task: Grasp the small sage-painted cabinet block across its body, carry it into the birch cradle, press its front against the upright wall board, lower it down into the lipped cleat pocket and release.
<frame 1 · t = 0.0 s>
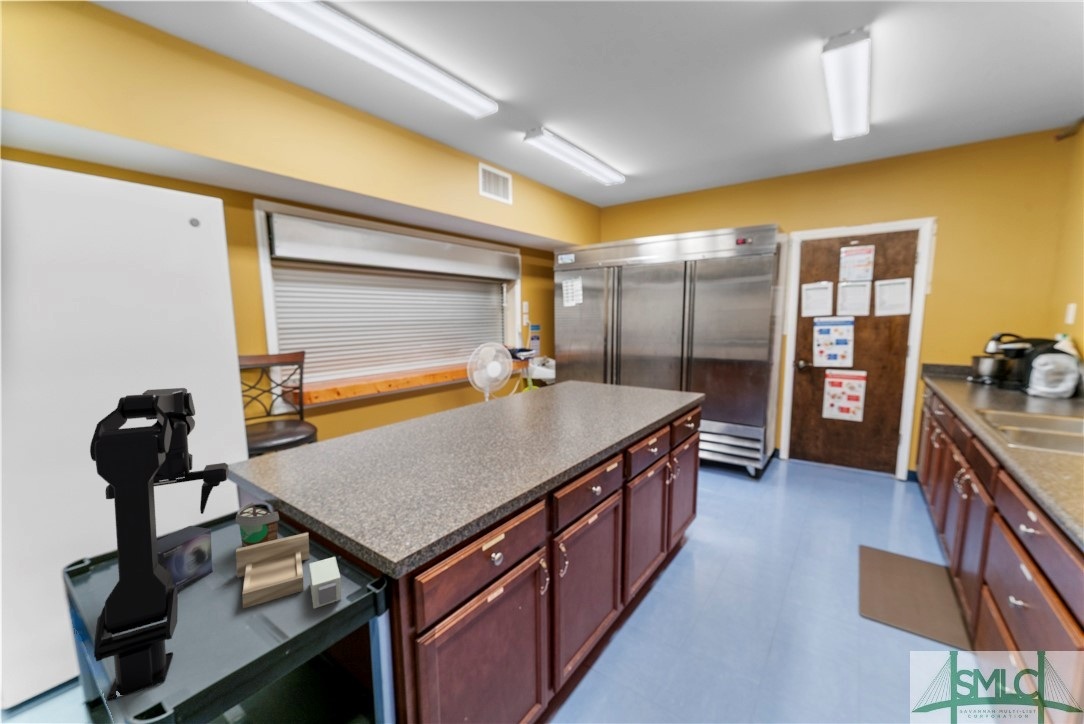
hand: (174, 518, 87), 15 cm above the table, fingers open, 9 cm apart
cleat cradle: (274, 576, 90), on the table
food container: (253, 550, 101), on the table
cabinet: (325, 592, 85), on the table
small box: (178, 585, 88), on the table
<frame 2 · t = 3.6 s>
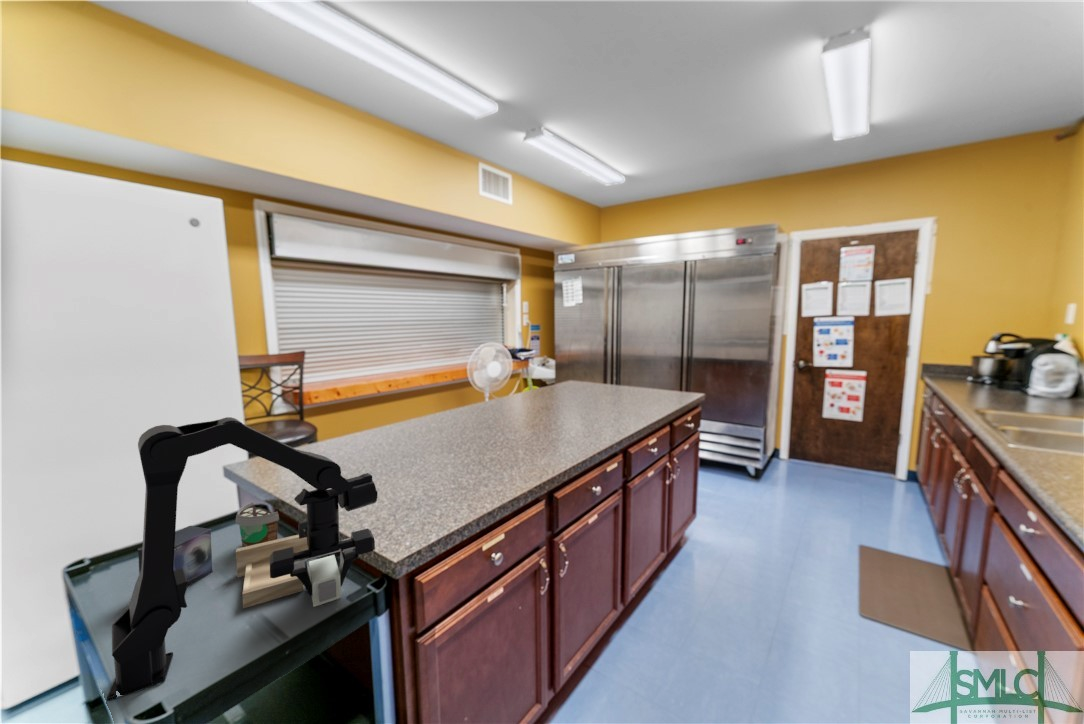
hand: (325, 590, 84), 1 cm above the table, fingers closed on cabinet, 5 cm apart
cabinet: (324, 590, 86), on the table, touching gripper
everything else where it was.
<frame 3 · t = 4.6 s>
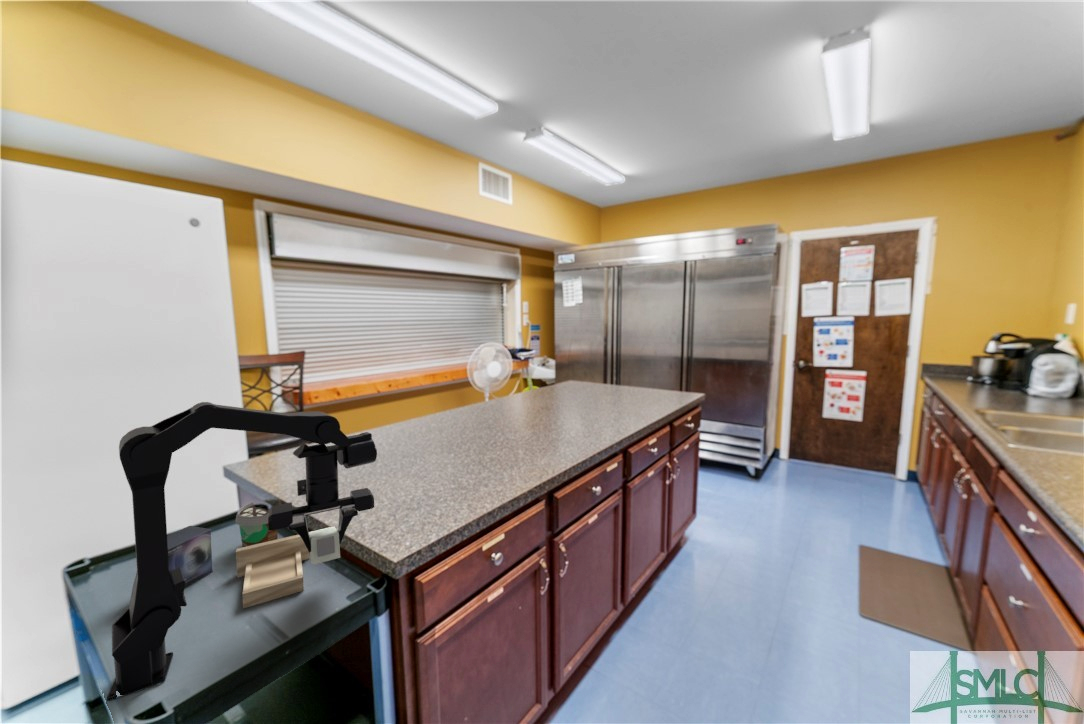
hand: (324, 547, 83), 11 cm above the table, fingers closed on cabinet, 5 cm apart
cabinet: (324, 556, 85), point 8 cm above the table, tilted 16°, touching gripper
everything else where it was.
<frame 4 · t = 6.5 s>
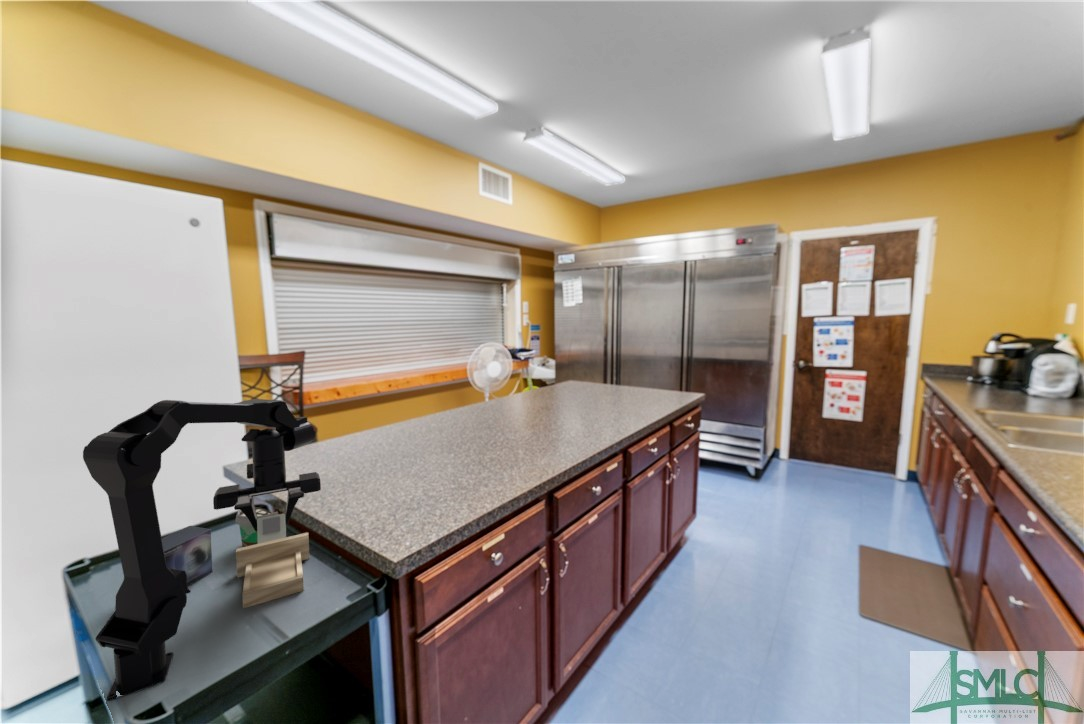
hand: (272, 527, 88), 12 cm above the table, fingers closed on cabinet, 5 cm apart
cabinet: (272, 540, 89), point 9 cm above the table, tilted 24°, touching gripper
everything else where it was.
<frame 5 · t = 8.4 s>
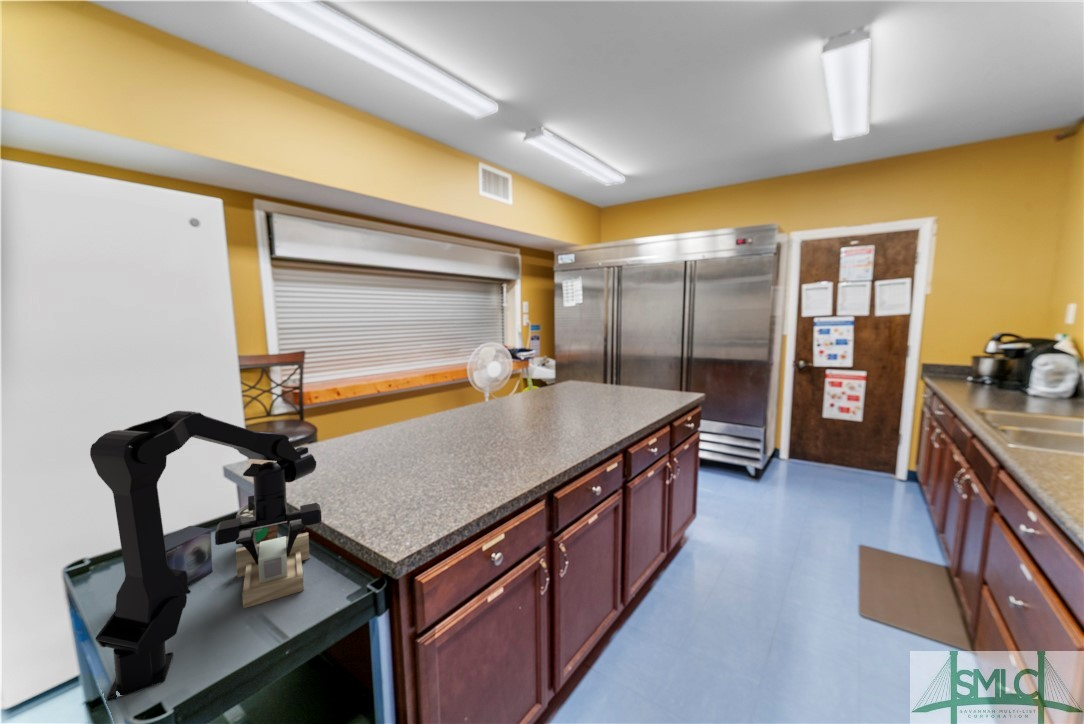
hand: (273, 559, 88), 5 cm above the table, fingers closed on cabinet, 5 cm apart
cabinet: (273, 569, 90), point 2 cm above the table, touching cleat cradle, gripper
everything else where it was.
when the fingers open (4 cm above the table, at t = 9.1 s): cabinet stays where it is, resting on cleat cradle.
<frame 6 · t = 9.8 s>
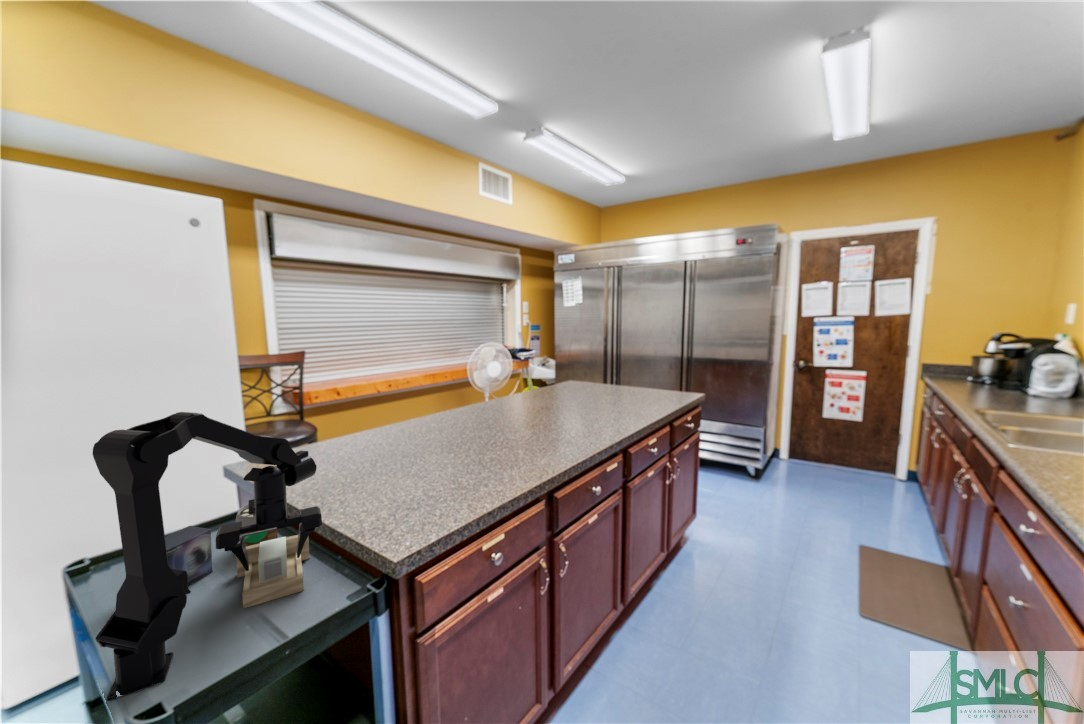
hand: (273, 563, 88), 4 cm above the table, fingers open, 9 cm apart
cabinet: (273, 569, 90), point 2 cm above the table, touching cleat cradle
everything else where it was.
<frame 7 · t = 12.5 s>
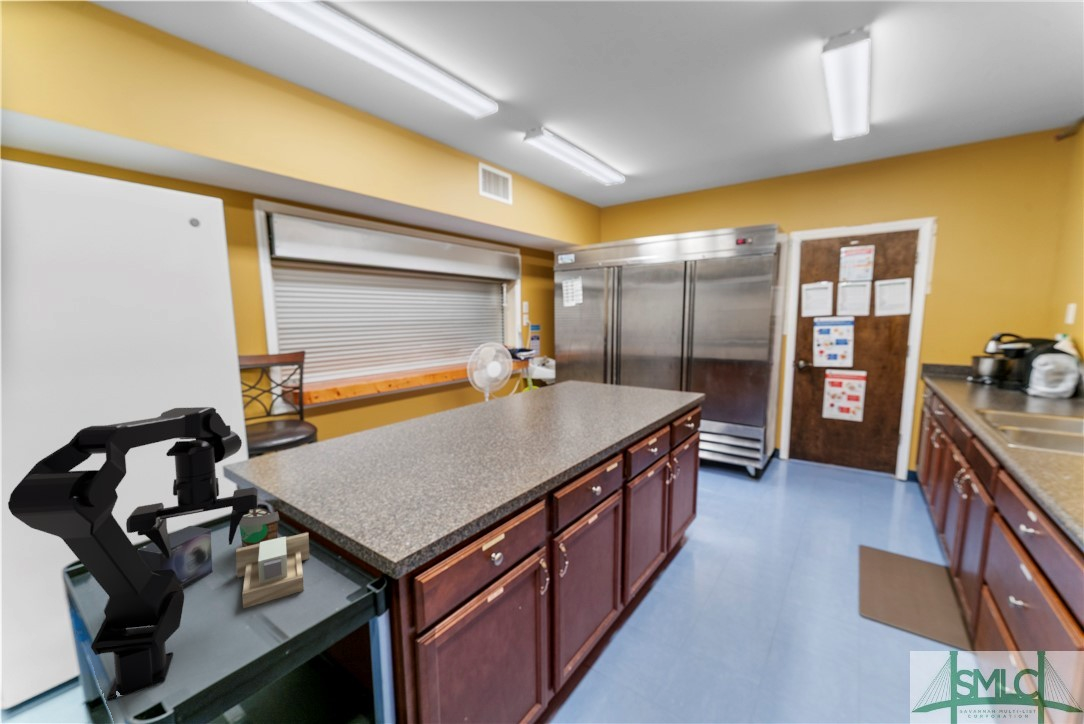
hand: (200, 550, 78), 13 cm above the table, fingers open, 9 cm apart
nothing on the table moved.
at the end: cabinet 1.0 cm from the target spot on the cleat cradle, point 2.0 cm above the cleat cradle's base; cabinet tilted 0°; the gripper is holding nothing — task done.
